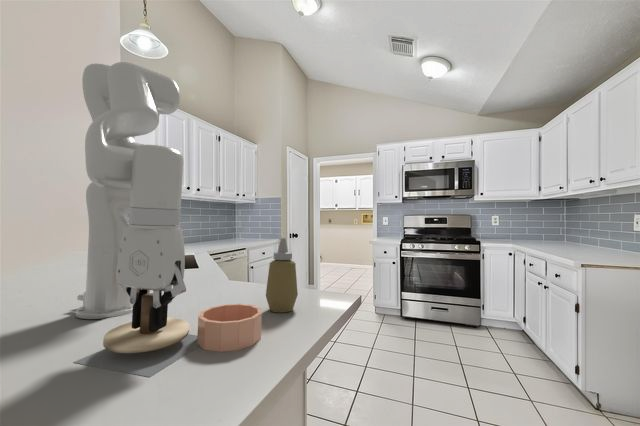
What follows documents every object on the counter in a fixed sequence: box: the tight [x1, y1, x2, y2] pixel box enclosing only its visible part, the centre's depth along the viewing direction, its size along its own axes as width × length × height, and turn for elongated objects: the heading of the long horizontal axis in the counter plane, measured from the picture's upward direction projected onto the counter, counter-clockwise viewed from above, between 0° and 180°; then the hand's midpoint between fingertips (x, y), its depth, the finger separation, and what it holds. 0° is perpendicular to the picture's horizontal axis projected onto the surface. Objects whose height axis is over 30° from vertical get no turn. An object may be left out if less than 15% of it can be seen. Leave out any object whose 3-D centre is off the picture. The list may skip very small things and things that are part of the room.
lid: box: [102, 292, 190, 353], centre depth 48 cm, size 12×12×7 cm
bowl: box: [197, 303, 263, 353], centre depth 52 cm, size 11×11×5 cm
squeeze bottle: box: [265, 237, 299, 313], centre depth 71 cm, size 8×8×18 cm
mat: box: [73, 333, 201, 378], centre depth 47 cm, size 14×14×1 cm
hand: (149, 326), depth 48 cm, fingers closed on lid, 2 cm apart
